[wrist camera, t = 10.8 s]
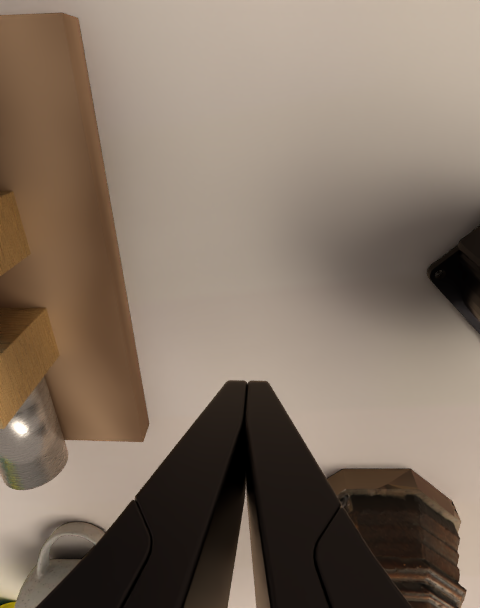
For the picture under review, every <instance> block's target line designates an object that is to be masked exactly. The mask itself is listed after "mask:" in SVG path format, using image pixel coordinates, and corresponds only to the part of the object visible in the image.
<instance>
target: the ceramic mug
mask: <svg viewBox="0 0 480 608" xmlns="http://www.w3.org/2000/svg"><path fill="white" fill-rule="evenodd" d="M104 534H105V533H104V532H103V531H102V530H101V529H99V528H98V527H96V526H94V525H92V524H89V523H85V522H71V523H67V524H64V525H62V526H60V527H59V528H57V529H56V530H55V531H54V532H53V533H52V535H51V536H50V537H49V538H48V540H47V541H46V542H45V544H44V545H43V547H42V549H41V551H40V555H39V558H38V563H37V565H36V566H35V567H34V568H33V570H32V571H31V572H30V574H29V575H28V577H27V579H26V580H25V582H24V584H23V586H22V587H21V590H20V592H19V595H18V598H17V601H16V603H15V607H14V608H35V607H36V606H37V605H38V604H39V603H40V602H41V601H42V600H43V599H44V598H45V597H46V596H47V595H48V594H49V593H50V592H51V591H52V590H53V589H54V588H55V587H56V586H57V585H58V584H59V583H60V582H61V581H62V580H63V579H64V578H65V577H66V576H67V574H68V573H69V572H70V571H71V570H72V569H73V568H74V567H75V566H76V565H77V564H78V563H79V562H80V561H81V560H82V559H49V553H50V548H51V545H52V544H53V543H54V542H55V540H56V539H58V538H59V537H61V536H66V535H68V536H69V535H71V536H79V537H83V538H85V539H87V540H88V541H91V542H92V543H93V544H94V545H96V543H97V542H98V541H99V540H100V539H101V538H102V536H103V535H104Z"/></svg>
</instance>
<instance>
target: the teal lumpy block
mask: <svg viewBox="0 0 480 608" xmlns="http://www.w3.org/2000/svg"><path fill="white" fill-rule="evenodd" d="M15 603H16V602H10V603H6V604H3V605H1V606H0V608H14V607H15Z"/></svg>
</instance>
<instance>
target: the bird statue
mask: <svg viewBox="0 0 480 608" xmlns="http://www.w3.org/2000/svg"><path fill="white" fill-rule="evenodd" d="M327 480H328V482H329V484H330V485H331V487H332V489H333V490H334V492H335V494H336V495H337V497H338V499H339V500H340V502H341V504H342V507H343V508H344V509H345V510H346V512H347V513H348V515H349V517H350V518H351V520H352V522H353V523H354V525H355V527H356V528H357V530H358V531H359V533H360V534H361V536H362V538H363V539H364V541H365V542H366V544H367V545H368V547H369V548H370V550H371V552H372V553H373V555H374V556H375V558H376V559H377V560H378V562H379V563H380V564H381V566H382V567H383V569H384V570H385V571H386V573H387V574H388V575H389V577H390V578H391V580H392V581H393V582H394V584H395V585H396V586H397V588H398V589H399V590H400V592H401V593H402V594H403V596H404V597H405V598H406V600H407V601H408V602H409V604H410V605H411V606H412V608H461V605H462V603H463V601H464V597H465V595H466V589H465V588H463V587H462V586H461V585H460V584H459V583H458V582H459V576H460V574H459V569H458V567H457V563H458V559H459V554H458V552H457V550H458V545H459V541H460V538H459V536H458V530H459V527H460V523H461V520H460V518H459V516H458V514H457V511H456V509H455V506H454V504H453V502H452V501H451V500H450V499H449V498H447V497H446V496H445V495H444V494H442V493H441V492H440V491H438V490H437V489H436V488H435V487H433V486H432V485H431V484H429V483H428V482H427V481H426V480H424V479H423V478H422V477H420V476H419V475H418V474H417V473H415V472H414V471H413V470H411V469H342V470H340V471H339V472H337V473H336V474H334V475H332V476H331V477H329V478H328V479H327Z"/></svg>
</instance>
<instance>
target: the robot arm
mask: <svg viewBox="0 0 480 608" xmlns="http://www.w3.org/2000/svg"><path fill="white" fill-rule="evenodd" d="M439 270H443V272H442V274H441V275H439V276H435V273H436V272H437V271H439ZM427 276H428V278H429V279H430V280H431V281H432V282H433V284H434V285H435V286H436V287H437V288H438V289H439V290H440V291H441V292H442V293H443V294H444V296H445V297H446V298H447V299H448V300H449V301H450V302H451V303H452V304H453V305H454V306H455V308H456V309H457V310H458V311H459V312H460V313H461V314H462V315H463V316H464V317H465V318H466V319H467V321H468V322H469V323H470V324H471V325H472V326H473V327H474V328H475V329H476V330H477V331H478V333H479V334H480V226H479V227H477V228H476V229H475V230H473V231H472V232H471V233H470V234H468V235H467V236H466V237H464V238H463V239H462V240H460V242H459V244H458V245H457V246H456V247H455V248H453V249H452V250H451V251H449V252H448V253H447V254H445V255H444V256H443V257H441V258H440V259H439V260H437V261H436V262H435V263H433V264H432V265H431V266H430V267H429V268H428V271H427ZM245 490H246V491H247V506H248V517H249V529H250V540H251V551H252V563H253V574H254V585H255V596H256V608H412V606H411V605H410V604H409V602H408V601H407V600H406V598H405V597H404V596H403V594H402V593H401V592H400V590H399V589H398V588H397V586H396V585H395V584H394V582H393V581H392V580H391V578H390V577H389V575H388V574H387V573H386V571H385V570H384V569H383V567H382V566H381V564H380V563H379V562H378V560H377V559H376V558H375V556H374V555H373V553H372V552H371V550H370V548H369V547H368V545H367V544H366V542H365V541H364V539H363V538H362V536H361V534H360V533H359V531H358V530H357V528H356V527H355V525H354V523H353V522H352V520H351V518H350V517H349V515H348V513H347V512H346V510H345V509H344V508H343V507H342V504H341V502H340V500H339V499H338V497H337V495H336V494H335V492H334V490H333V489H332V487H331V485H330V484H329V482H328V480H327V479H326V477H325V475H324V474H323V472H322V470H321V469H320V467H319V465H318V464H317V462H316V461H315V459H314V457H313V456H312V454H311V452H310V451H309V449H308V447H307V446H306V444H305V442H304V441H303V439H302V437H301V436H300V434H299V432H298V431H297V429H296V427H295V426H294V424H293V422H292V421H291V419H290V417H289V416H288V414H287V412H286V411H285V409H284V407H283V406H282V404H281V402H280V401H279V399H278V397H277V396H276V394H275V392H274V391H273V389H272V387H271V386H270V384H269V383H268V382H267V381H249V382H248V384H247V382H246V381H239V380H230V381H227V382H226V383H225V384H224V386H223V387H222V388H221V389H220V391H219V392H218V393H217V395H216V396H215V397H214V398H213V400H212V401H211V402H210V403H209V405H208V406H207V407H206V408H205V410H204V411H203V412H202V413H201V415H200V416H199V417H198V418H197V420H196V421H195V422H194V423H193V425H192V426H191V427H190V428H189V430H188V431H187V432H186V433H185V435H184V436H183V437H182V438H181V440H180V441H179V442H178V444H177V445H176V446H175V447H174V449H173V450H172V451H171V452H170V454H169V455H168V456H167V457H166V459H165V460H164V461H163V462H162V464H161V465H160V466H159V467H158V469H157V470H156V471H155V472H154V474H153V475H152V476H151V477H150V479H149V480H148V481H147V482H146V484H145V485H144V486H143V487H142V489H141V490H140V491H139V492H138V494H137V495H136V496H135V500H132V501H131V502H130V503H129V505H128V506H127V507H126V509H125V510H124V511H123V512H122V514H121V515H120V516H119V517H118V519H117V520H116V521H115V522H114V523H113V524H112V526H111V527H110V528H109V529H108V530H107V532H106V533H105V534H104V535H103V536H102V538H101V539H100V540H99V541H98V542H97V543H96V545H95V546H94V547H93V548H92V549H91V550H90V551H89V552H88V553H87V554H86V555H85V556H84V557H83V558H82V560H81V561H80V562H79V563H78V564H77V565H76V566H75V567H74V568H73V569H72V570H71V571H70V572H69V573H68V574H67V576H66V577H65V578H64V579H63V580H62V581H61V582H60V583H59V584H58V585H57V586H56V587H55V588H54V589H53V590H52V591H51V592H50V593H49V594H48V595H47V596H46V597H45V598H44V599H43V600H42V601H41V602H40V603H39V604H38V605H37V606H36V607H35V608H227V607H228V600H229V594H230V588H231V581H232V575H233V569H234V562H235V556H236V550H237V543H238V537H239V531H240V524H241V518H242V512H243V505H244V498H245Z"/></svg>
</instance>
